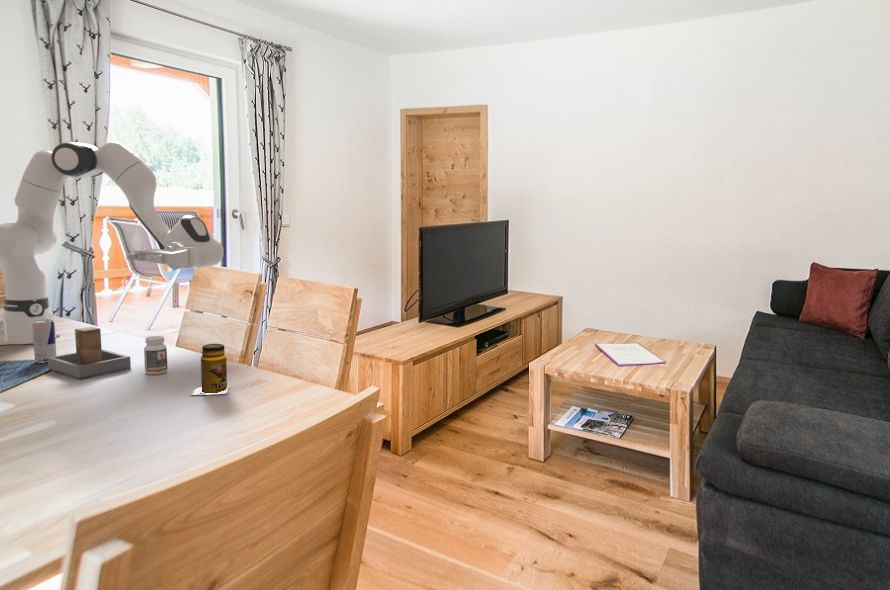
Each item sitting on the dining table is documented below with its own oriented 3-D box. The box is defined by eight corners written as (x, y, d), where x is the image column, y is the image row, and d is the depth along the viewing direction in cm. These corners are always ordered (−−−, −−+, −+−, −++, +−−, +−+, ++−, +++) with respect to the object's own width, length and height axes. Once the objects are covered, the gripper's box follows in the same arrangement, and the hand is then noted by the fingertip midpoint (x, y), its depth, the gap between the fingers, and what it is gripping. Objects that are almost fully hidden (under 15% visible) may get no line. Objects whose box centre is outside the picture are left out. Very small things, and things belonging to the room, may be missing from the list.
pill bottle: (172, 371, 167) (171, 337, 166) (154, 376, 162) (153, 340, 161) (158, 368, 170) (156, 334, 168) (140, 373, 165) (138, 338, 163)
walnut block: (77, 367, 166) (74, 328, 165) (93, 364, 170) (91, 326, 168) (85, 370, 164) (83, 331, 162) (102, 366, 168) (100, 328, 166)
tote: (48, 369, 165) (47, 357, 165) (99, 359, 177) (98, 348, 177) (79, 379, 157) (78, 367, 157) (130, 368, 169) (130, 356, 168)
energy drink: (61, 359, 176) (58, 319, 174) (47, 364, 171) (44, 323, 169) (44, 358, 177) (41, 318, 175) (30, 363, 171) (27, 322, 170)
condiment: (226, 395, 148) (225, 348, 147) (190, 396, 147) (188, 349, 145) (230, 386, 155) (229, 341, 154) (195, 387, 154) (194, 342, 152)
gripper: (157, 244, 197) (116, 245, 185) (197, 247, 187) (156, 249, 175) (158, 263, 198) (117, 265, 186) (197, 267, 188) (157, 270, 176)
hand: (136, 258), depth 181 cm, fingers open, 8 cm apart
